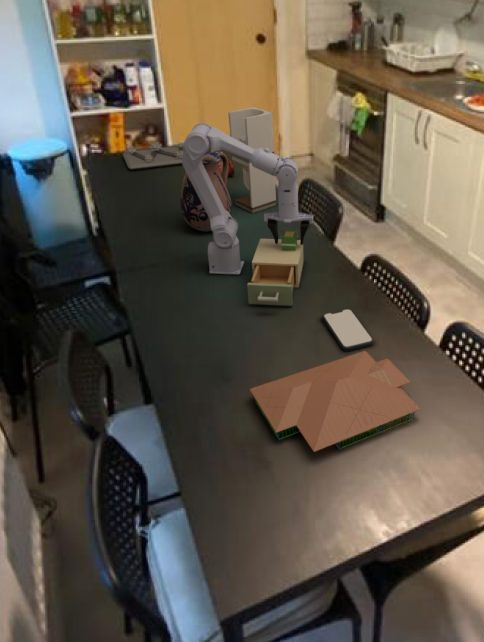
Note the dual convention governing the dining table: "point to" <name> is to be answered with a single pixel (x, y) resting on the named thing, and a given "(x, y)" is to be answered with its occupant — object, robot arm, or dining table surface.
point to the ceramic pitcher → (192, 203)
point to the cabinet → (279, 256)
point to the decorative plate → (153, 156)
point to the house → (336, 400)
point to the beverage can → (230, 170)
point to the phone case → (347, 330)
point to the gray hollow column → (255, 133)
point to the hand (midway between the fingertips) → (289, 242)
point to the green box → (289, 240)
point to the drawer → (272, 285)
